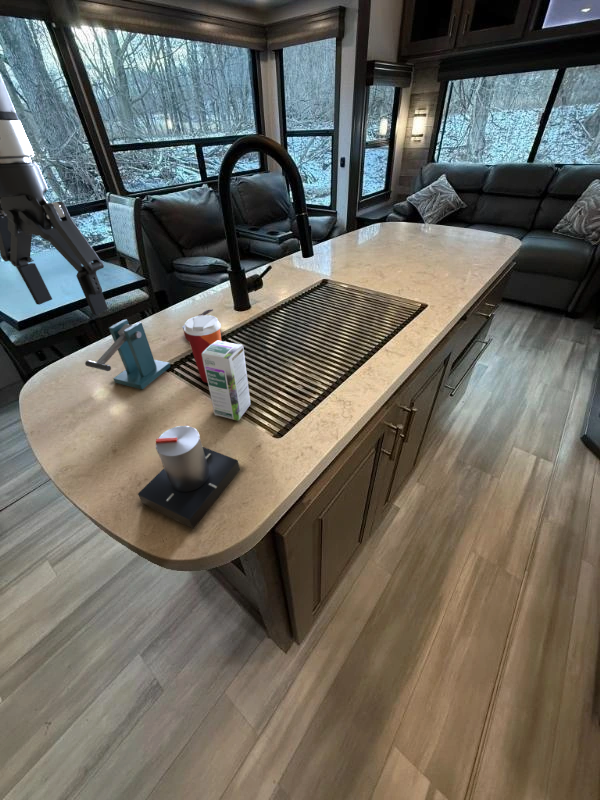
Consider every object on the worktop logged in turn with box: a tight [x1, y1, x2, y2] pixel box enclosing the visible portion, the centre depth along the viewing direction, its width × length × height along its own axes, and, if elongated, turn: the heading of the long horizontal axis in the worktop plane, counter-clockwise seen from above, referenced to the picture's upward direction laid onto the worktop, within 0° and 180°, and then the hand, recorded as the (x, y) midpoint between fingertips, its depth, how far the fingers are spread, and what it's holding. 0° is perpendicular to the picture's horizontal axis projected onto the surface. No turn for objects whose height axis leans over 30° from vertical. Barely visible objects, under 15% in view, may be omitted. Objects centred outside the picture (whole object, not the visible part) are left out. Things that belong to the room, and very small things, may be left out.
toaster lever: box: [84, 324, 133, 372], centre depth 70 cm, size 12×6×2 cm, turn 159°
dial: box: [155, 425, 209, 492], centre depth 49 cm, size 6×6×8 cm
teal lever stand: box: [108, 319, 171, 390], centre depth 75 cm, size 10×8×13 cm
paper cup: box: [183, 314, 222, 384], centre depth 74 cm, size 8×8×14 cm
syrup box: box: [202, 340, 251, 422], centre depth 64 cm, size 6×6×14 cm
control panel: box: [137, 446, 241, 530], centre depth 53 cm, size 12×10×3 cm
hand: (71, 306), depth 59 cm, fingers open, 13 cm apart
